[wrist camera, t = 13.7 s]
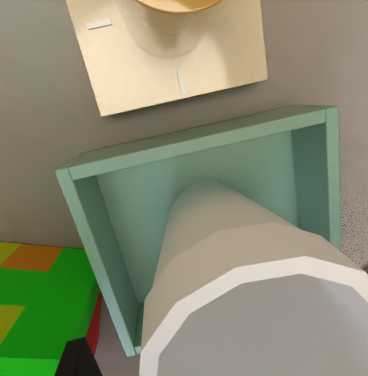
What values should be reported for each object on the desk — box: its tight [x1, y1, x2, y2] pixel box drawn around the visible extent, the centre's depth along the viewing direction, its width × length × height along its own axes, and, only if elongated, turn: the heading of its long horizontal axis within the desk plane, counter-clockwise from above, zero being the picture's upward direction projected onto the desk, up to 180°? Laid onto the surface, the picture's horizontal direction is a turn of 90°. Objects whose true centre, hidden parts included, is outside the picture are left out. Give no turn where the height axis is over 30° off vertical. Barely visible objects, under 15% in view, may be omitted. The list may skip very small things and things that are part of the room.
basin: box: [55, 105, 341, 357], centre depth 20 cm, size 17×15×5 cm
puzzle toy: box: [0, 242, 102, 376], centre depth 18 cm, size 10×10×10 cm
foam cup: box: [139, 182, 368, 376], centre depth 15 cm, size 10×9×13 cm
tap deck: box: [65, 0, 268, 117], centre depth 16 cm, size 11×10×3 cm
